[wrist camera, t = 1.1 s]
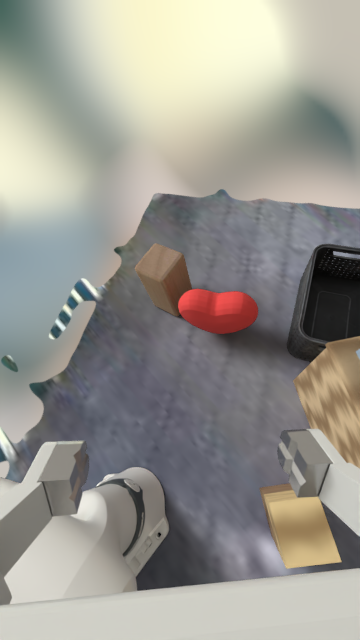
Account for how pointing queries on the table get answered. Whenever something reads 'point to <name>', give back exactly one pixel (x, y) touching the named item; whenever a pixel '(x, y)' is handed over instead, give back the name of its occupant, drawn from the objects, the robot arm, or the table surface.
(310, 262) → the storage bin
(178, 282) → the block
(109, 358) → the table surface
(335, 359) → the oak stand
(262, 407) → the table surface
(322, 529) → the block
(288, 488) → the walnut block
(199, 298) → the heart
